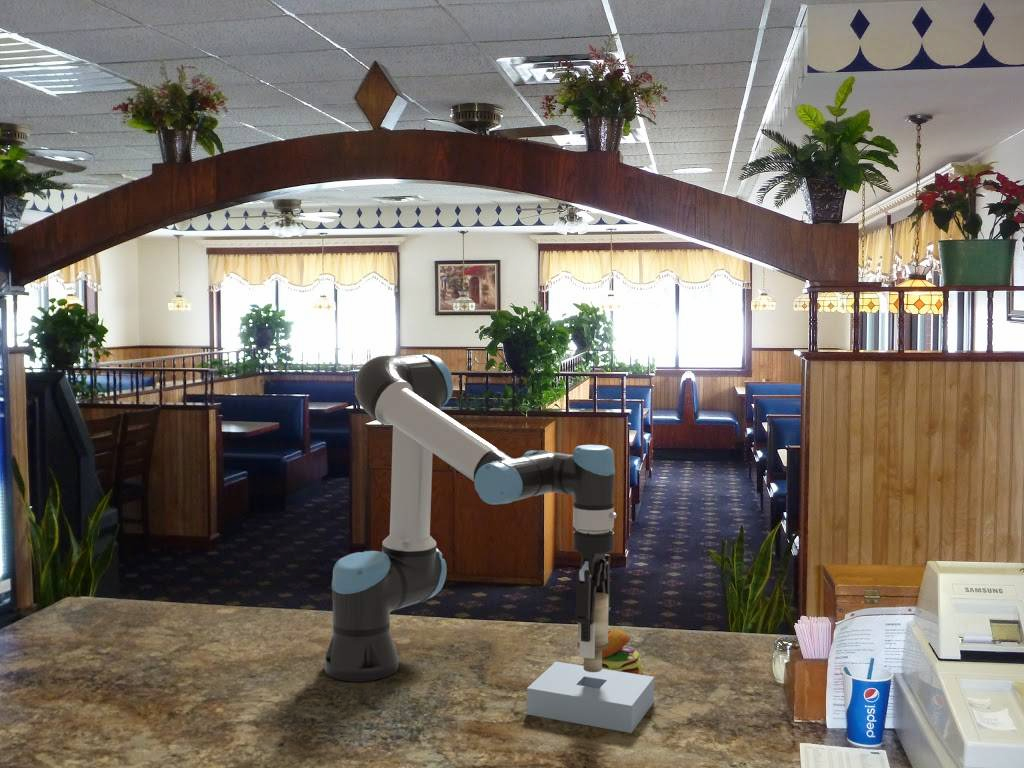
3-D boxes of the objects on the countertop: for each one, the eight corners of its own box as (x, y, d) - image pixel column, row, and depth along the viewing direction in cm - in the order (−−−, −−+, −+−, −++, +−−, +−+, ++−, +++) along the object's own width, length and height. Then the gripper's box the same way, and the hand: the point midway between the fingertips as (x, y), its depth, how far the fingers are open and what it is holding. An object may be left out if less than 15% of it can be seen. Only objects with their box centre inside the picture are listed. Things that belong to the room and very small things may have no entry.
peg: (572, 671, 187) (573, 597, 186) (583, 661, 192) (583, 589, 191) (602, 676, 185) (603, 601, 183) (612, 666, 190) (613, 593, 189)
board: (526, 714, 186) (527, 688, 186) (555, 686, 200) (555, 661, 200) (631, 733, 178) (631, 705, 178) (653, 702, 192) (654, 676, 192)
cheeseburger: (642, 683, 201) (631, 635, 201) (590, 692, 203) (579, 644, 203) (646, 665, 211) (635, 619, 211) (596, 673, 213) (585, 628, 213)
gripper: (596, 542, 176) (595, 671, 178) (627, 521, 193) (626, 639, 195) (556, 538, 179) (556, 665, 181) (590, 517, 196) (589, 634, 198)
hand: (592, 651), depth 188 cm, fingers closed on peg, 6 cm apart
